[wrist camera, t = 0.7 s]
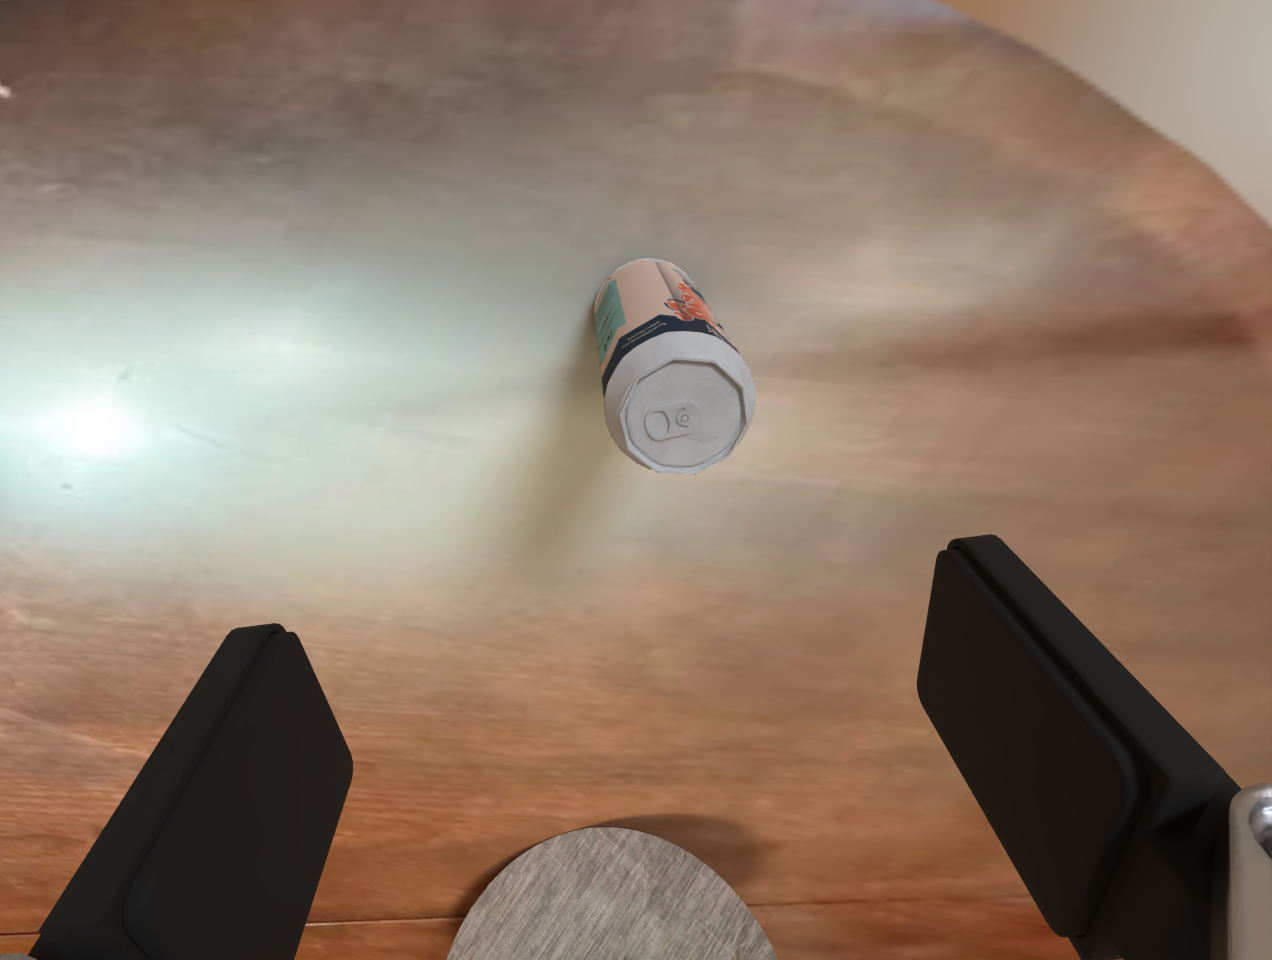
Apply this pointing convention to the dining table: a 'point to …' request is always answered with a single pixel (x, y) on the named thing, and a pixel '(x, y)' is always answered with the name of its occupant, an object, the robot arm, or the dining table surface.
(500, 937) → the disc
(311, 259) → the dining table surface
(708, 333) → the beer can
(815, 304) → the dining table surface
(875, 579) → the dining table surface
